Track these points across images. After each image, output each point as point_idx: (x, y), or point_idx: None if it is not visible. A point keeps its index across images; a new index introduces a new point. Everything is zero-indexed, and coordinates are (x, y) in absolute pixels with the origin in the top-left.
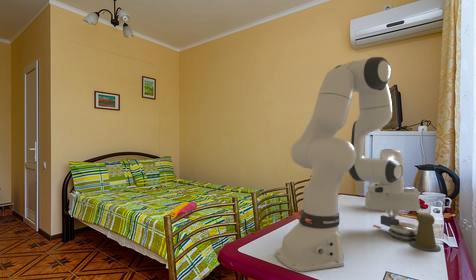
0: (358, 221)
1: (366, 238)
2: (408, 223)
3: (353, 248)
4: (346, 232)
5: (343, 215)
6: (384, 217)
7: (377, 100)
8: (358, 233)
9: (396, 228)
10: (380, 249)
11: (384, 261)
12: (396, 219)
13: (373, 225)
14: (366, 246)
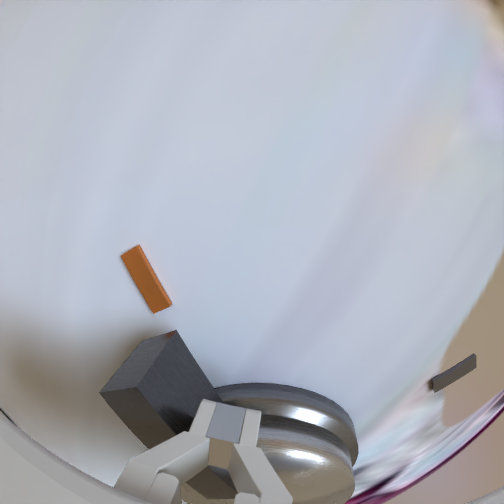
0: (62, 131)
1: (70, 417)
2: (333, 471)
3: (49, 445)
4: (7, 342)
5: (50, 16)
6: (135, 426)
7: None
8: (40, 366)
9: (183, 496)
10: (109, 476)
11: None
12: (224, 491)
13: (121, 255)
14: (74, 453)
